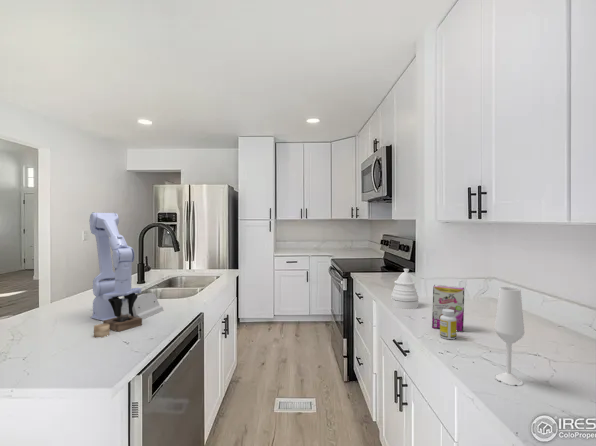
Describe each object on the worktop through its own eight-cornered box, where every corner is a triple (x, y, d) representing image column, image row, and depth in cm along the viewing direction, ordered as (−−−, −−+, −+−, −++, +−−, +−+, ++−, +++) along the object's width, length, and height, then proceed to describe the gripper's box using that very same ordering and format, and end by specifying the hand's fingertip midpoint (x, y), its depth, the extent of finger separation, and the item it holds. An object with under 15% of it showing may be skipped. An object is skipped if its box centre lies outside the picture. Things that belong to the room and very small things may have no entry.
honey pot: (396, 301, 177) (396, 266, 177) (421, 305, 169) (422, 269, 169) (387, 306, 166) (387, 269, 166) (413, 310, 159) (414, 272, 159)
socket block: (103, 327, 128) (103, 320, 128) (126, 321, 137) (126, 314, 137) (118, 331, 124) (118, 324, 124) (141, 324, 132) (141, 318, 132)
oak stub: (90, 336, 119) (90, 326, 119) (104, 332, 123) (104, 322, 123) (99, 338, 117) (99, 328, 117) (112, 334, 121) (112, 324, 121)
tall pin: (121, 324, 127) (121, 300, 127) (114, 323, 129) (115, 299, 129) (131, 322, 131) (131, 298, 131) (124, 320, 133) (125, 297, 133)
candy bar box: (431, 328, 132) (432, 286, 132) (432, 324, 137) (433, 284, 137) (463, 332, 128) (464, 289, 128) (463, 329, 132) (464, 286, 132)
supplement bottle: (455, 336, 124) (455, 309, 124) (457, 340, 119) (457, 312, 119) (439, 334, 126) (439, 307, 126) (440, 339, 121) (440, 311, 120)
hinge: (139, 320, 138) (132, 297, 138) (130, 323, 139) (122, 300, 139) (164, 310, 154) (157, 289, 155) (155, 313, 155) (148, 292, 156)
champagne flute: (490, 372, 94) (492, 285, 94) (518, 376, 92) (520, 287, 92) (497, 383, 87) (499, 290, 87) (527, 387, 85) (529, 292, 85)
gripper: (111, 283, 122) (111, 321, 122) (146, 277, 135) (146, 312, 135) (99, 281, 125) (99, 318, 125) (135, 276, 138) (134, 309, 138)
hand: (122, 314), depth 130 cm, fingers closed on tall pin, 4 cm apart
